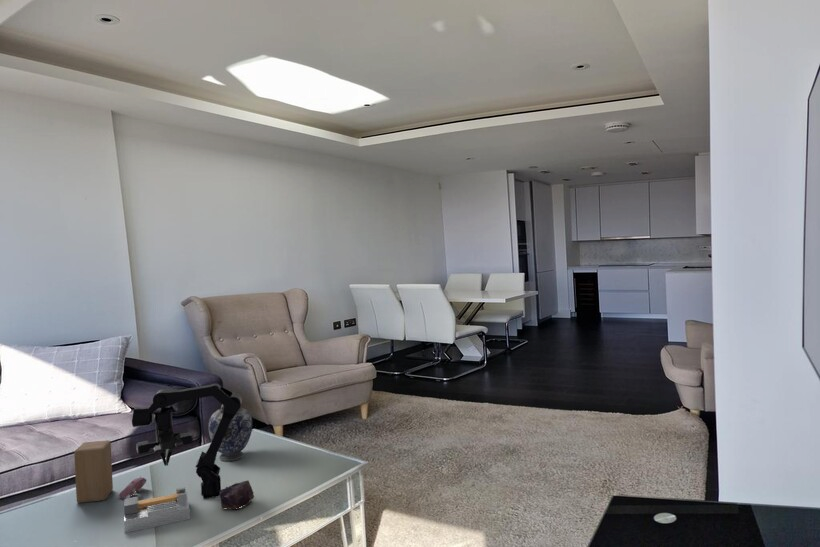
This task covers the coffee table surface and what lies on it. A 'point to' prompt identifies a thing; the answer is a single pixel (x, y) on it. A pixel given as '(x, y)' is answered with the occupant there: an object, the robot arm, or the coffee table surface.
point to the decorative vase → (232, 434)
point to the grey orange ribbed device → (159, 513)
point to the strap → (157, 500)
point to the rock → (236, 495)
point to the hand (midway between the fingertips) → (166, 465)
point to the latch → (131, 505)
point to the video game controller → (133, 487)
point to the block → (93, 471)
